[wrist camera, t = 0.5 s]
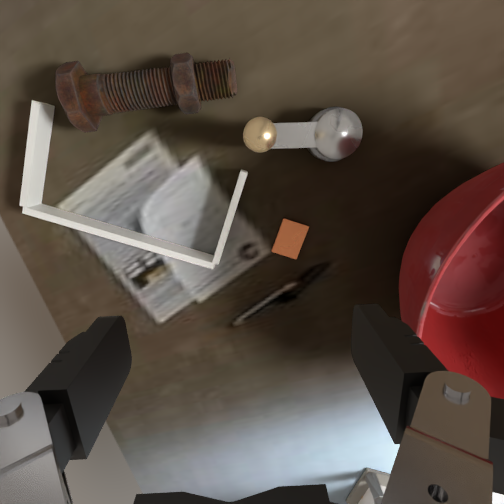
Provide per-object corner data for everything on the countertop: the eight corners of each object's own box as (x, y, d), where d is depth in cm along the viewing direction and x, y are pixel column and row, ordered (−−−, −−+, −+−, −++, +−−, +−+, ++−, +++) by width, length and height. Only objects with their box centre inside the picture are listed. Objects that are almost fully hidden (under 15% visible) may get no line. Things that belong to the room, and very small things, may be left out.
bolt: (236, 93, 34) (90, 112, 33) (229, 37, 30) (65, 57, 30) (241, 119, 30) (76, 140, 29) (234, 58, 26) (45, 81, 26)
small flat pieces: (315, 101, 32) (319, 98, 31) (360, 118, 33) (367, 117, 31) (262, 248, 37) (263, 253, 35) (303, 260, 38) (306, 266, 36)
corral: (47, 103, 32) (31, 100, 29) (247, 171, 34) (247, 173, 32) (33, 207, 35) (18, 212, 32) (218, 262, 37) (216, 270, 35)
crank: (359, 109, 31) (387, 100, 25) (355, 157, 32) (382, 160, 26) (242, 112, 30) (242, 104, 24) (243, 161, 32) (244, 164, 26)
